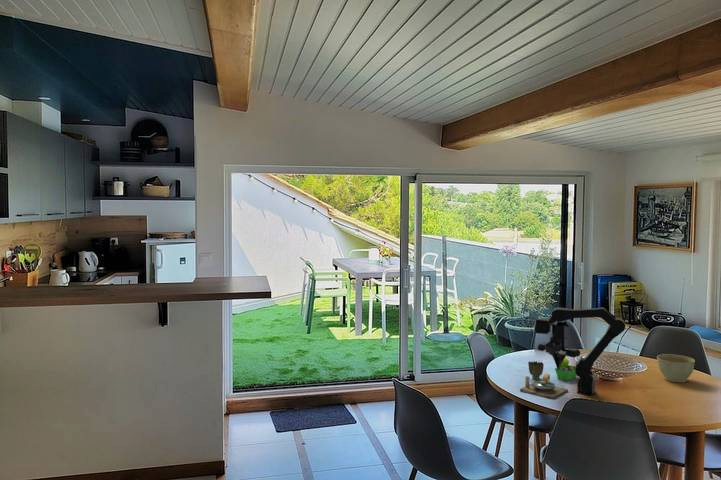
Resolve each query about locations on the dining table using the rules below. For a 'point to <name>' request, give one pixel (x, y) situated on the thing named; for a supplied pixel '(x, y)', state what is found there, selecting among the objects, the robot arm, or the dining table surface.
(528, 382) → the dowel pin
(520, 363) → the dining table surface
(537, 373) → the cup
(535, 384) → the flange plate
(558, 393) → the post board
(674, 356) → the planter bowl
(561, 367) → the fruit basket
